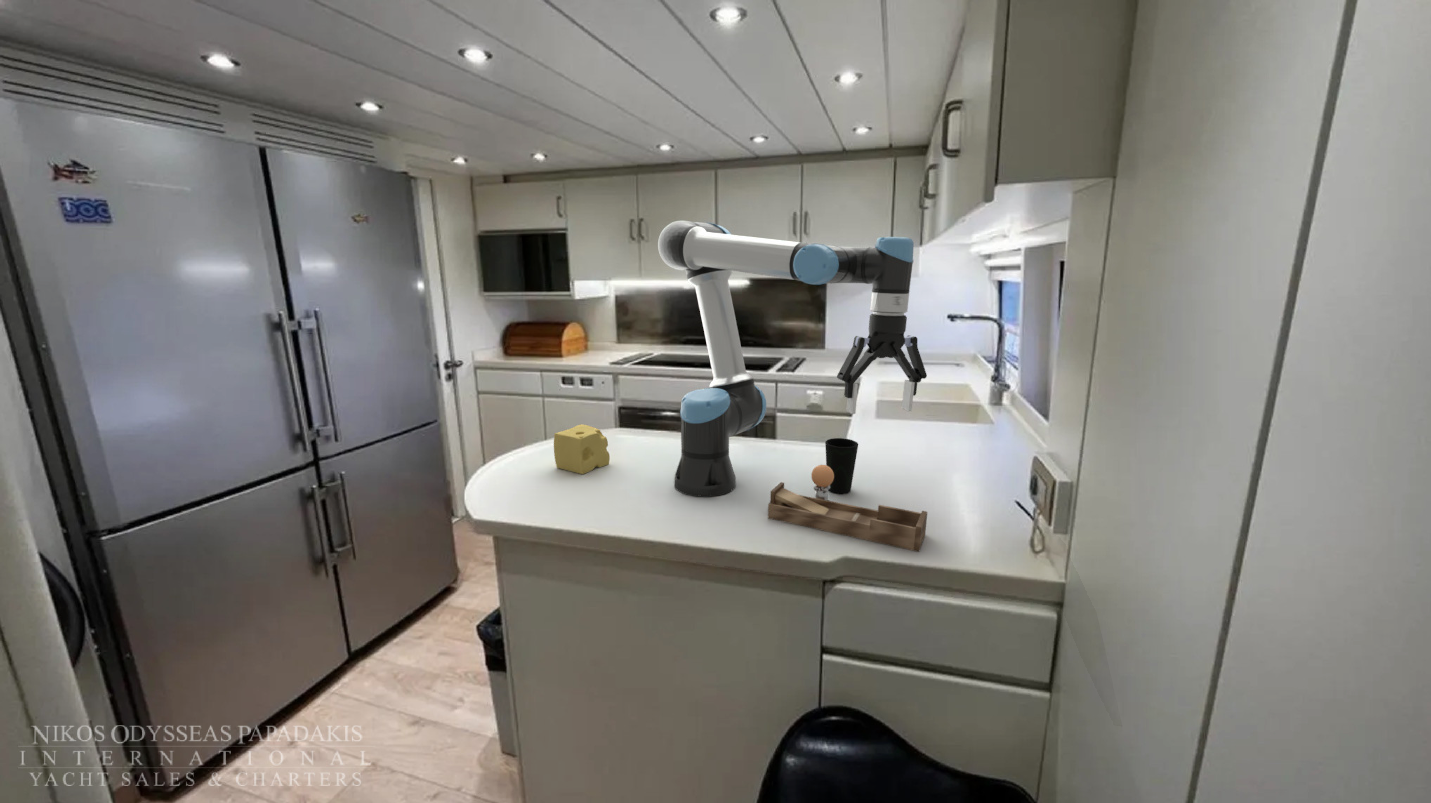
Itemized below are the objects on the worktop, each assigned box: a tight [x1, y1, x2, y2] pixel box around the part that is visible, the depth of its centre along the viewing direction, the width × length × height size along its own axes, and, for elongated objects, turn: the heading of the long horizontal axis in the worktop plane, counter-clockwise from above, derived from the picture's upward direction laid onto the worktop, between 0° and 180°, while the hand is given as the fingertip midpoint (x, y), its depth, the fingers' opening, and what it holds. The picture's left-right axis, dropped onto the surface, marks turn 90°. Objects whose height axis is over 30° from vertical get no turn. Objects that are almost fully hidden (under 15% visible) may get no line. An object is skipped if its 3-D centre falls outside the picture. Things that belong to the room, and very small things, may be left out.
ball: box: [810, 464, 834, 487], centre depth 126 cm, size 5×5×5 cm
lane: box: [767, 481, 928, 553], centre depth 116 cm, size 31×8×6 cm, turn 62°
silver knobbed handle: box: [813, 485, 830, 501], centre depth 127 cm, size 5×5×5 cm
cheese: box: [553, 423, 610, 475], centre depth 151 cm, size 10×11×10 cm
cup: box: [824, 437, 859, 495], centre depth 135 cm, size 8×8×12 cm
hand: (879, 411), depth 123 cm, fingers open, 13 cm apart
